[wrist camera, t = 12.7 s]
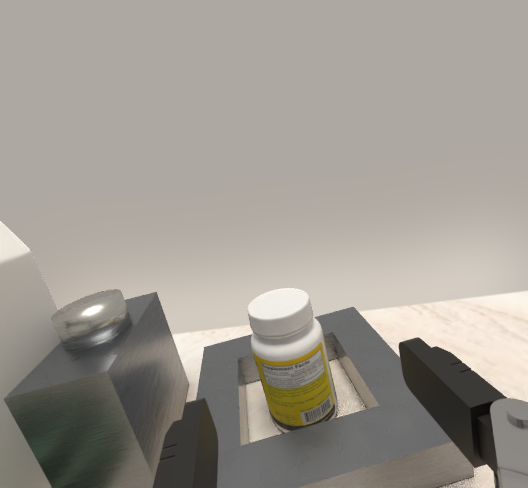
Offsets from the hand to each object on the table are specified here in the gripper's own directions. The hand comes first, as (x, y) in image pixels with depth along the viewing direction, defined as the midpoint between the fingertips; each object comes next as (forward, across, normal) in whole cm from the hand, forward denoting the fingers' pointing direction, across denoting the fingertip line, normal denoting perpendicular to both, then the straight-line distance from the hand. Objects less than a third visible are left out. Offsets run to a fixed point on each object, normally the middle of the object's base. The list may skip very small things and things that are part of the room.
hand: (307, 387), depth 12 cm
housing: (+8, +3, +8) cm, 11 cm away
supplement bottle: (+7, 0, +8) cm, 11 cm away
